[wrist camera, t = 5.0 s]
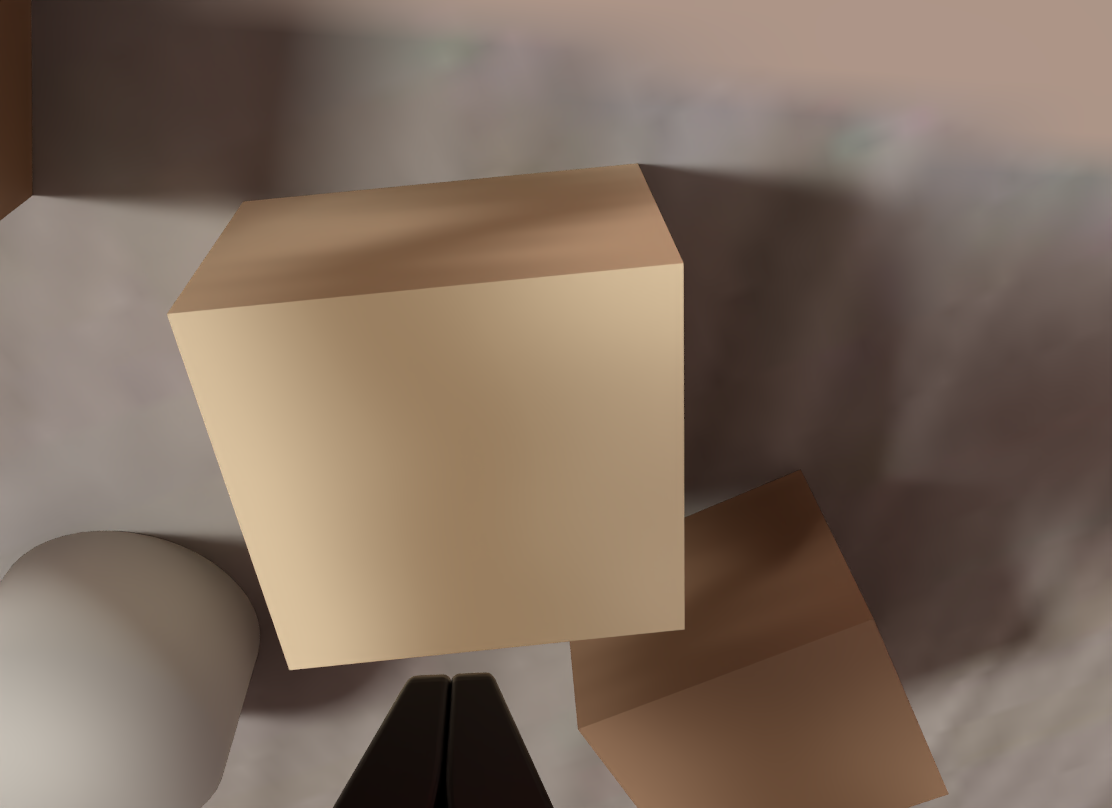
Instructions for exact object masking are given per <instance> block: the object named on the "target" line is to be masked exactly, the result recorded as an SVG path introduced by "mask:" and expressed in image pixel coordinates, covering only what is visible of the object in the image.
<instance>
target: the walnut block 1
mask: <svg viewBox="0 0 1112 808" xmlns="http://www.w3.org/2000/svg"><path fill="white" fill-rule="evenodd" d="M32 195H33V191H32V49H31V0H0V220H1V219H3V218H4V217H5V216H7V215H8V214H9V213H10V212H12V211H13V210H14V209H16V208H17V207H18V206H19V205H21V204H22V203H23V202H25V201H26V200H27V199H28V198H30V197H31V196H32Z"/></svg>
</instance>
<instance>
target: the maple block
mask: <svg viewBox="0 0 1112 808" xmlns="http://www.w3.org/2000/svg"><path fill="white" fill-rule="evenodd" d="M167 315H168V318H169V321H170V324H171V327H172V330H173V333H174V336H175V339H176V341H177V344H178V347H179V350H180V353H181V356H182V359H183V362H184V365H185V368H186V371H187V373H188V376H189V379H190V382H191V385H192V388H193V391H194V394H195V397H196V400H197V403H198V405H199V408H200V411H201V414H202V417H203V420H204V423H205V426H206V429H207V432H208V435H209V437H210V440H211V443H212V446H213V449H214V452H215V455H216V458H217V461H218V464H219V467H220V469H221V472H222V475H223V478H224V481H225V484H226V487H227V490H228V493H229V496H230V499H231V501H232V504H233V507H234V510H235V513H236V516H237V519H238V522H239V525H240V528H241V531H242V533H243V536H244V539H245V542H246V545H247V548H248V551H249V554H250V557H251V560H252V563H253V565H254V568H255V571H256V574H257V577H258V580H259V583H260V586H261V589H262V592H263V595H264V597H265V600H266V603H267V606H268V609H269V612H270V615H271V618H272V621H273V624H274V627H275V629H276V632H277V635H278V638H279V641H280V644H281V647H282V650H283V653H284V656H285V659H286V661H287V664H288V667H289V670H296V669H306V668H316V667H325V666H335V665H345V664H354V663H364V662H374V661H383V660H393V659H403V658H412V657H422V656H432V655H441V654H451V653H461V652H470V651H480V650H490V649H500V648H509V647H519V646H529V645H538V644H548V643H558V642H567V641H577V640H587V639H596V638H606V637H616V636H625V635H635V634H645V633H654V632H664V631H674V630H684V629H685V601H684V263H683V261H682V259H681V257H680V254H679V252H678V250H677V248H676V246H675V243H674V241H673V239H672V237H671V235H670V233H669V230H668V228H667V226H666V224H665V222H664V220H663V217H662V215H661V213H660V211H659V209H658V206H657V204H656V202H655V200H654V198H653V196H652V193H651V191H650V189H649V187H648V185H647V183H646V180H645V178H644V176H643V174H642V172H641V170H640V167H639V165H638V163H637V164H627V165H617V166H606V167H596V168H585V169H575V170H565V171H554V172H544V173H534V174H523V175H513V176H502V177H492V178H482V179H471V180H461V181H451V182H440V183H430V184H420V185H409V186H399V187H388V188H378V189H368V190H357V191H347V192H337V193H326V194H316V195H305V196H295V197H285V198H274V199H264V200H254V201H243V203H242V204H241V206H240V207H239V209H238V210H237V212H236V213H235V214H234V216H233V217H232V219H231V220H230V222H229V223H228V225H227V226H226V228H225V229H224V231H223V232H222V234H221V235H220V237H219V238H218V240H217V241H216V242H215V244H214V245H213V247H212V248H211V250H210V251H209V253H208V254H207V256H206V257H205V259H204V260H203V262H202V263H201V265H200V266H199V268H198V269H197V270H196V272H195V273H194V275H193V276H192V278H191V279H190V281H189V282H188V284H187V285H186V287H185V288H184V290H183V291H182V293H181V294H180V296H179V297H178V298H177V300H176V301H175V303H174V304H173V306H172V307H171V309H170V310H169V312H168V313H167Z"/></svg>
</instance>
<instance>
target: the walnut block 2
mask: <svg viewBox="0 0 1112 808" xmlns="http://www.w3.org/2000/svg"><path fill="white" fill-rule="evenodd" d="M684 601H685V629H684V630H674V631H664V632H654V633H645V634H635V635H625V636H616V637H606V638H596V639H587V640H577V641H570V649H571V660H572V670H573V681H574V692H575V702H576V713H577V723H578V730H579V731H580V732H581V734H582V735H583V736H584V738H585V739H586V740H587V742H588V743H589V744H590V746H591V747H592V748H593V750H594V751H595V752H596V754H597V755H598V756H599V758H600V759H601V760H602V761H603V763H604V764H605V765H606V767H607V768H608V769H609V771H610V772H611V773H612V775H613V776H614V777H615V779H616V780H617V781H618V783H619V784H620V785H621V787H622V788H623V789H624V790H625V792H626V793H627V794H628V796H629V797H630V798H631V800H632V801H633V802H634V804H635V805H636V806H637V808H908V807H911V806H914V805H917V804H920V803H923V802H926V801H929V800H932V799H935V798H938V797H942V796H945V795H948V792H947V789H946V787H945V785H944V782H943V780H942V778H941V775H940V773H939V771H938V768H937V766H936V764H935V761H934V759H933V757H932V754H931V752H930V750H929V747H928V745H927V743H926V740H925V738H924V735H923V733H922V731H921V728H920V726H919V724H918V721H917V719H916V717H915V714H914V712H913V710H912V707H911V705H910V703H909V700H908V698H907V696H906V693H905V691H904V689H903V686H902V684H901V682H900V679H899V677H898V675H897V672H896V670H895V668H894V665H893V663H892V661H891V658H890V656H889V654H888V651H887V649H886V647H885V644H884V642H883V640H882V637H881V635H880V633H879V630H878V628H877V626H876V623H875V621H874V619H873V617H872V615H871V613H870V611H869V609H868V606H867V604H866V602H865V600H864V598H863V596H862V594H861V592H860V590H859V588H858V586H857V584H856V582H855V580H854V578H853V576H852V574H851V572H850V570H849V568H848V566H847V563H846V561H845V559H844V557H843V555H842V553H841V551H840V549H839V547H838V545H837V543H836V541H835V539H834V537H833V535H832V533H831V531H830V529H829V527H828V525H827V523H826V521H825V518H824V516H823V514H822V512H821V510H820V508H819V506H818V504H817V502H816V500H815V498H814V496H813V494H812V492H811V490H810V488H809V486H808V484H807V482H806V480H805V478H804V476H803V473H802V471H801V470H798V471H796V472H793V473H791V474H789V475H786V476H784V477H781V478H779V479H777V480H774V481H772V482H769V483H767V484H764V485H762V486H760V487H757V488H755V489H752V490H750V491H748V492H745V493H743V494H740V495H738V496H736V497H733V498H731V499H728V500H726V501H723V502H721V503H719V504H716V505H714V506H711V507H709V508H707V509H704V510H702V511H699V512H697V513H695V514H692V515H690V516H687V517H685V518H684Z"/></svg>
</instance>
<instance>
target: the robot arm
mask: <svg viewBox="0 0 1112 808" xmlns="http://www.w3.org/2000/svg"><path fill="white" fill-rule="evenodd" d="M333 808H553V805H552V803H551V801H550V799H549V797H548V794H547V792H546V790H545V788H544V786H543V783H542V781H541V779H540V777H539V775H538V772H537V770H536V768H535V766H534V764H533V761H532V759H531V757H530V755H529V753H528V750H527V748H526V746H525V744H524V742H523V739H522V737H521V735H520V733H519V731H518V728H517V726H516V724H515V722H514V720H513V717H512V715H511V713H510V711H509V709H508V706H507V704H506V702H505V700H504V698H503V695H502V693H501V691H500V689H499V687H498V684H497V682H496V680H495V678H494V677H493V676H492V675H491V674H490V673H465V674H457V675H455V676H454V677H453V678H452V681H451V679H450V678H449V677H448V676H447V675H420V676H413V677H411V678H410V679H409V680H408V681H407V682H406V684H405V685H404V687H403V689H402V690H401V692H400V694H399V695H398V697H397V699H396V701H395V702H394V704H393V706H392V707H391V709H390V711H389V713H388V714H387V716H386V718H385V719H384V721H383V723H382V725H381V726H380V728H379V730H378V731H377V733H376V735H375V737H374V738H373V740H372V742H371V743H370V745H369V747H368V749H367V750H366V752H365V754H364V755H363V757H362V759H361V760H360V762H359V764H358V766H357V767H356V769H355V771H354V772H353V774H352V776H351V778H350V779H349V781H348V783H347V784H346V786H345V788H344V790H343V791H342V793H341V795H340V796H339V798H338V800H337V802H336V803H335V805H334V807H333Z"/></svg>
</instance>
